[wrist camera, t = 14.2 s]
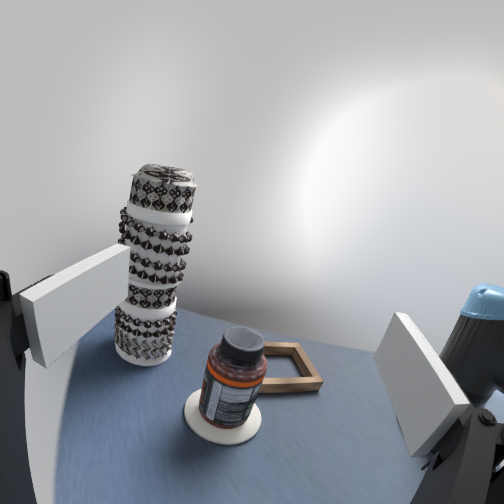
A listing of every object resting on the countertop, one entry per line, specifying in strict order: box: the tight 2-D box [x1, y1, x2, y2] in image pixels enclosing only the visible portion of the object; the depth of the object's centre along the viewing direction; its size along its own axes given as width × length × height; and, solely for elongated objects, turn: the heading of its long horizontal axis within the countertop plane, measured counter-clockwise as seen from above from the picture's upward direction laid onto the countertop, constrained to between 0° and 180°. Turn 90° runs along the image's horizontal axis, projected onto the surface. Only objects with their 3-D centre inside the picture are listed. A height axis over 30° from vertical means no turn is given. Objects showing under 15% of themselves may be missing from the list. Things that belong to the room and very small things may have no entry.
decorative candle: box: [114, 164, 199, 366], centre depth 34 cm, size 9×9×25 cm
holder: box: [258, 342, 323, 393], centre depth 40 cm, size 10×10×2 cm
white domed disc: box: [184, 389, 261, 445], centre depth 29 cm, size 9×9×1 cm
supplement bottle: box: [199, 327, 267, 429], centre depth 27 cm, size 6×6×11 cm
